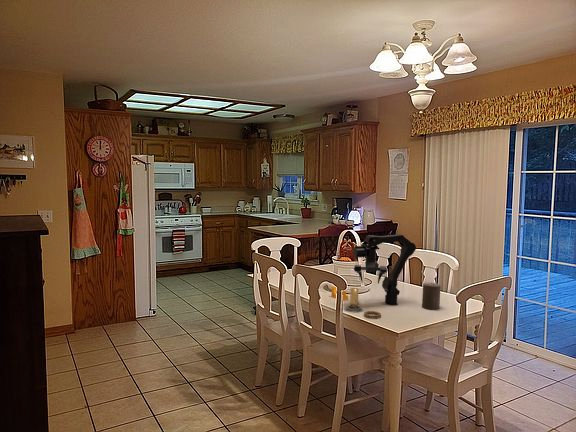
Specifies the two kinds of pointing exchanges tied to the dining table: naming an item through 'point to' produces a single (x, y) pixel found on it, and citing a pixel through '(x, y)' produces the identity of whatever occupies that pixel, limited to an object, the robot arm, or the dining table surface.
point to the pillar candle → (431, 296)
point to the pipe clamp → (345, 297)
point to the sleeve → (354, 298)
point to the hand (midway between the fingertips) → (370, 283)
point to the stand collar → (376, 316)
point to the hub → (354, 309)
